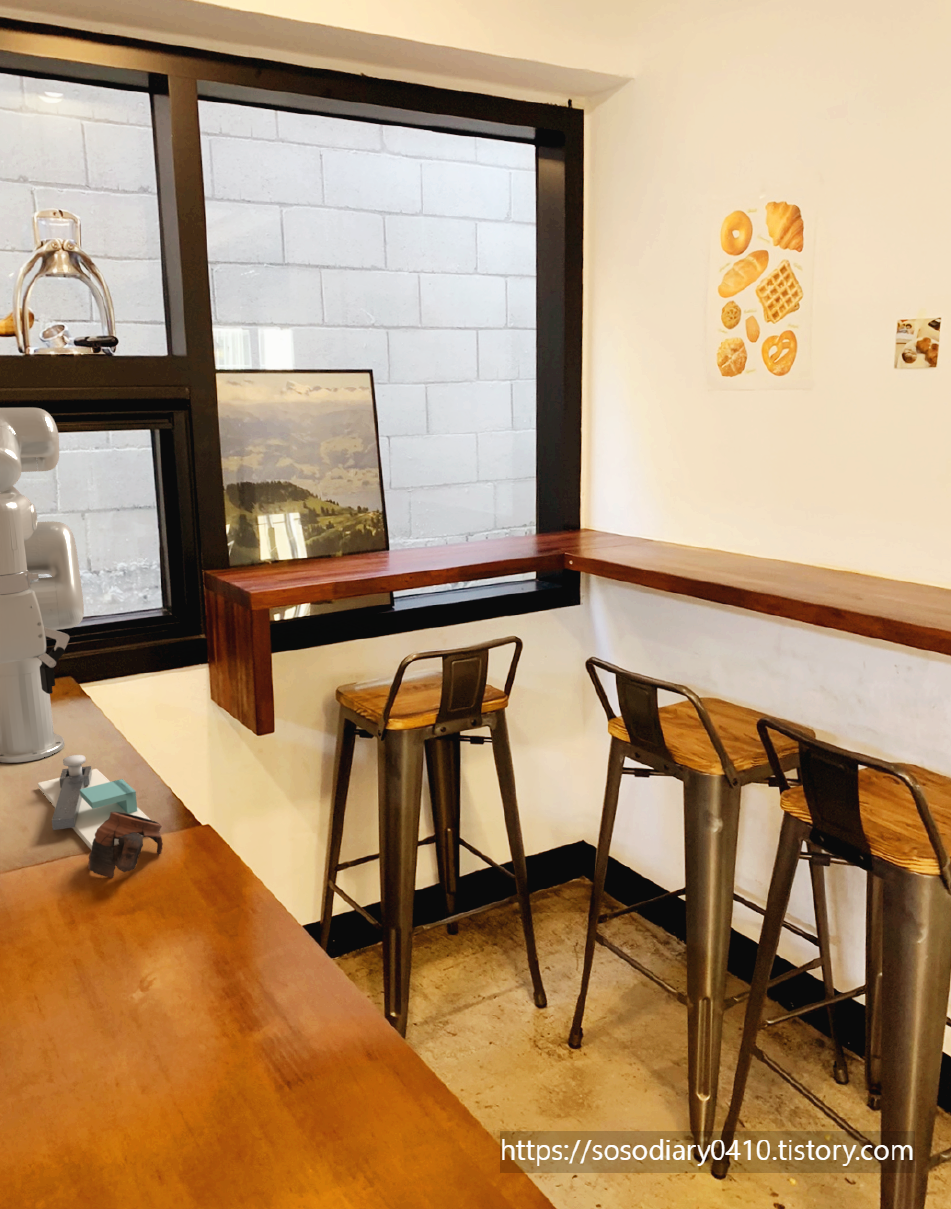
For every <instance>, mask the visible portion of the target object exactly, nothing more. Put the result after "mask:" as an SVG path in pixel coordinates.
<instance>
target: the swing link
mask: <svg viewBox="0 0 951 1209" xmlns="http://www.w3.org/2000/svg"><path fill="white" fill-rule="evenodd" d="M92 770H93V769H92V765H89V766H87V765H86V766H82V775H78V776H69V769H68V768H63V769H62V770H61V773H60V775H59V776H60V777H59V778H60V788H61V791H60V795H59V798H58V801H57V805H56V808H55V807H54V812H53V815H52V818H51V826H52V831H55V830H63V829H73V827H75V824H76V820H77V816H78V812H79V808H80V804H81V799H82V797H81V796H80V789H84V787H85V785H90V780H91V776H92Z"/></svg>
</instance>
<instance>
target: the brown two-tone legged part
mask: <svg viewBox="0 0 951 1209" xmlns="http://www.w3.org/2000/svg"><path fill="white" fill-rule="evenodd" d="M149 819H150V818H149ZM149 819H146V818H142V817H139V816H135V815H131V814H126V813H122V812H111V813H110V817H109V819H108V820H106V821H105V822H104V823H103V824H102V825H101V826H100V827H99V828H98V829H97V831H96V833H95V838H94V840H93V843H92V844H93V845H92V850H91V851H90V852H89V854H88V865H87V866H88V867H87V868H88V870H90V871H91V872H93V874H97V875H99V876H103V877H106V878H111V879H112V878H114V876H115V870H116V868H117V869H118V870H119V871H121V872H123V873H126V872H130V871H134V870H135V869H136V868H137V864H138V860H139V857H140V856H139V855H140V854H141V852H142V850H143V847H144V841H143V840H144V839H143V837H142V836H141V835H143V836H144V837H148V838H150V839H151V840H153V841H154V842H155V844H156V845H157V846H156V854H157V855H161V854H162V850H163V845H164V843H163V838H162V836H161V833H160V831H161V829H162V825H161V823H159V822H158V821H155V820H152V819H150V820H149ZM137 833H139V834H137ZM115 839H119V841H118V842H119V844H117V845H114V842H115V841H114V840H115Z"/></svg>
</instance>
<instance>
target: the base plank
mask: <svg viewBox="0 0 951 1209" xmlns="http://www.w3.org/2000/svg"><path fill="white" fill-rule="evenodd" d="M86 759H87V758H86V756H85V755H83V754H73V755H69V756H66V757H64V758H63V759H62V765H63V766H65V767H68V768H67V769H69V776H78V775H82V767H83V766H82V765H83V764H85V763H86ZM91 770H92V776H91V780H90V785H85V787H84V788H88V787H92V786H96V785H100V784H104V783H108V782H111V781H110V779H108V778H107V777H106V776H105V775H104V774H103V773H102V772H101V771H100V770H99V769H98V768H93V769H91ZM37 786H38V787H39V788H40V789H41V791H42V792H43V793H44V794H43V793H42V792H41V791H40V792H41V793H42V794H43V796H44V795H45V796H46V797H45V798H46V799H47V800H48V802H49V803H50V802H51V803H52V804H51V803H50V804H51V805H52V806H53V807H54V809H55V808H56V805H57V801H58V798H59V795H60V791H61V788H60V777H56V778H52V779H49V780H44V781H39V782H37ZM111 812H122V813H126V812H125V811H124V810H123V809H122V808H121V807H120V806H119V805H118V804H117V803H113V804H109V805H105V806H102V807H98V808H94V809H92V807H91V806H90V805H89V804H88V803H87V802H86V801H85V800H84V799H83V798H82V799H81V804H80V808H79V812H78V816H77V820H76V824H75V827H73V828H72V829H73V831H74V832H75V833H76V834H77V835H78V836H79V838H80V839H81V840H82V841H83V842H84V843H85V844H86V846H87V847H88V848H89V849H90V850H91V851H92V845H93V844H92V843H93V840H94V838H95V833H96V831H97V829H98V828H99V827H100V826H101V825H102V824H103V823H104V822H105V821H106V820H108V819H109V817H110V813H111ZM126 814H127V813H126ZM129 814H131V815H135V816H139V817H142V818H146V819H149V820H151V818H149V816H148V815H146V814H145V813H144V812H143V810H141V809H140V808H139V807H138V806H137V811H136V812H132V813H129ZM137 834H139V833H137ZM141 836H142V838H143V837H144V836H143V835H141ZM114 841H115V842H114V846H116V845H119V842H118V841H119V839H115V840H114Z"/></svg>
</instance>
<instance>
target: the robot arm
mask: <svg viewBox="0 0 951 1209" xmlns="http://www.w3.org/2000/svg"><path fill="white" fill-rule="evenodd" d="M59 459H60V435H59V430H58V426H57V424H56V422H55V419H54V418H53V416H51V414H50V413H49V412H48V411H46V410H45V409H42V408H39V407H0V763H7V764H10V763H11V764H14V763H25V762H26V763H27V762H32V761H36V760H41V759H44V757H45V758H47V757H49V756H52V754H53V755H54V753H55V754H57V753H58V752H60V751H61V750H62V749H63V748H64V746H65V740H64V737H63V736H62V735H60V734H57V733H55V731H54V722H53V711H52V705H51V702H52V701H51V695H52V694H53V687H56V678H55V670H54V669H55V668H54V667H55V666H57V662H58V661H59V660H60V659H61V657H62V656H63V655H64V653H65V649H66V648H67V646H68V644H69V641H70V635H69V634H68V633H65V632H62V631H59V630H65V629H72V628H74V627H77V626H78V625H80V624H81V622H82V621H83V618H84V612H85V607H84V597H83V596H84V595H83V589H82V588H83V587H82V581H81V579H82V578H81V572H80V565H79V558H78V551H77V545H76V541H75V537H74V534H73V532H72V529H71V528H70V527H69V526H68V525H67V524H65V523H63V522H61V521H53V520H52V521H38V514H37V513H38V512H37V509H36V506H35V504H33V503H32V502H31V501H30V499H29V498H28V497H27V496H25V495H24V494H22V493H21V492H20V491H19V490H18V489H17V488H16V487H14V486H15V485H16V484H17V483H18V481H19V480H20V478H21V475H22V473H27V472H29V473H30V472H31V473H33V472H48V471H52V470H53V469H55V468H56V467H57V465H58V463H59ZM39 575H49V576H46V577H44V576H43V577H39ZM47 638H50V639H53V640H55V641H56V642H55V645H54V647H53V648H51V650H50V651H49V653H48V654H47V653H46V652H47ZM50 694H51V695H50Z"/></svg>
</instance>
